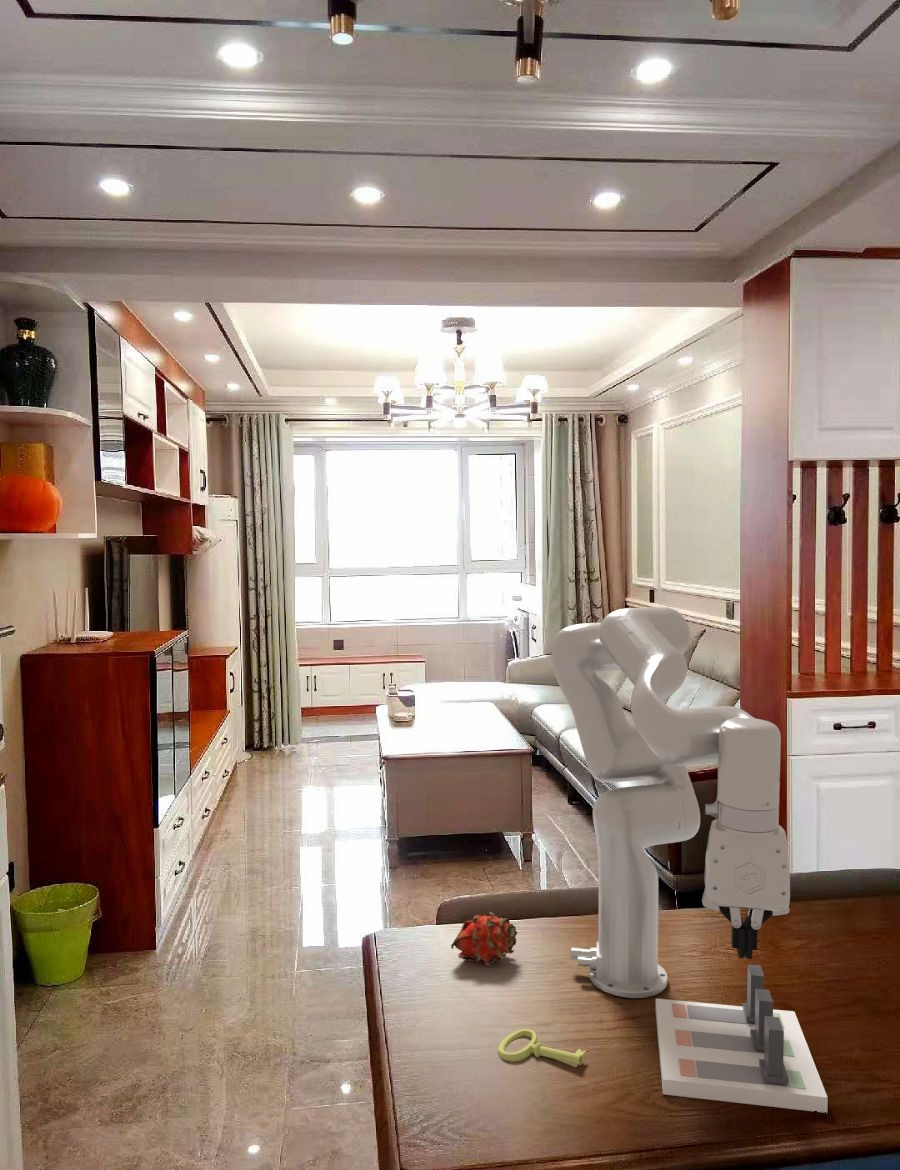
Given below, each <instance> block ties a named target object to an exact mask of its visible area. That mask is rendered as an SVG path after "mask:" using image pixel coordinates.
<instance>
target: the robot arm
mask: <svg viewBox="0 0 900 1170" xmlns="http://www.w3.org/2000/svg"><path fill="white" fill-rule="evenodd" d="M690 643H691V631H690V626H689V623H688V622H687V620H686V619H685V617H684V616H683V614H681V613H680V612H679V611H678V610H676V609H674V608H671V607H667V606H665V607H664V606H658V607H657V606H655V607H651V606H650V607H626V608H619V609H616V610H614V611H612V612H610V613H609V614H607V615H606V616H604V618H603V619H602V620H601V622H586V623H585V622H583V623H577V624H576V623H575V624H571V625H569V626H566V627H564V628H562V629H560V630H559V631H558V632H557V633H556V635H555V636H554V639H553V642H552V647H551V662H552V668H553V672H554V676H555V678H556V682H557V684H558V686H559V688H560V689H561V692H562V693H563V696H564V697H565V699H566V701H567V703H568V705H569V707H570V709H571V711H572V714H573V715H572V716H573V719H574V722H575V725H576V730H577V733H578V737H579V740H580V744H581V749H582V752H583V754H584V758H585V762H586V765H587V767H588V769H589V770H588V771H589V772H590V774H591V775H592V777H593V778H594V780H596V781H598V782H601V783H621V782H622V783H623V782H634V781H644V780H647V781H648V782H649V784H646V785H645V784H642V785H633V786H624V787H618V788H613V789H608V790H607V791H605V792H603V793H601V794H600V795H599V796H598V797H597V798H596V799H595V801H594V803H593V808H592V821H593V827H594V833H595V839H596V847H597V848H596V849H597V857H598V860H597V861H598V941H596V946H595V947H594V946H590V949H587V948H582V947H571V950H570V952H571V953H570V959H571V960H573V961H577V966H578V967H588V977H589V980H590V982H591V983H592V984H593V985H594V986H595V987H596V988H598V989H599V990H601V991H603V992H604V993H607V994H610V995H612V996H616V997H621V998H624V999H626V998H628V999H644V998H651V997H654V996H656V995H659V994H661V993H662V992H664V991H665V989H666V988H667V986H668V974H667V971H666V970H665V968H663V967H662V966H661V965H660V964H659V875H658V871H657V869H656V865H655V864H654V863H653V862H652V861H651V859H650V858H649V856H648V855H647V854H646V848H647V847H654V846H658V845H665V844H674V843H680V842H684V841H685V842H686V841H688V840H690V839H692V838H694V837H695V836H696V834H697V833H698V831H699V829H700V826H701V812H700V807H699V802H698V799H697V796H696V794H695V790H694V786H693V783H692V781H691V777H690V775H689V772H688V769H687V766H694V765H705V764H717V793H716V794H717V796H716V800H715V801H714V803H711V804H709V803H706V804H705V805H704V807H705V810H704V812H705V815H707V816H711V817H714V818H715V819H713V820H712V821H711V824H710V829H709V832H708V838H707V844H706V850H705V851H706V853H705V860H704V861H705V863H704V875H703V877H704V887H705V888H704V891H703V893H702V899H701V902H702V906H703V907H704V908H707V909H709V910H713V911H716V912H720V914H722V915H723V916H724V917H725V918H726V919H727V921H729V922H730V923H731V936H730V937H731V941H730V942H731V947H732V949H736V953H737V955H738V959H742V960H743V959H747V960H753V951H758V931H759V929H761V928H762V925H763V924H764V923H765V922H767V921H768V919H770V918H771V917H773V916H774V917H775V916H782V915H787V914H788V915H789V913H790V911H791V910H790V906H789V905H790V901H791V879H790V873H791V872H790V858H789V857H790V855H789V846H788V839H787V835H786V830H784V828H783V826H781V825H780V824H779V823H780V822H779V821H780V820H779V819H780V817H779V816H780V787H781V785H780V784H781V783H780V782H781V781H780V780H781V751H782V749H781V746H782V745H781V744H782V742H781V741H782V737H781V735H782V734H781V732H780V729H779V727H778V726H777V725H776V724H775V723H773V722H771V721H768V720H764V719H759V718H755V717H754V716H752V715H751V714H749V712H747V711H745V710H743V709H742V708H739V707H737V706H731V705H721V706H710V707H709V706H704V707H703V706H702V707H689V708H680V709H679V708H678V709H677V708H676V709H672V708H671V707H669V706H668V705H667V704H666V702H665V701H664V700H665V699H668V698H669V697H670V696H672V695H673V694H675V693H676V692H677V691H678V690H679V689H680V688H681V687H682V685H683V683H684V682H685V680H686V678H687V675H688V663H687V660H686V658H685V657H684V654H685V652H686V651H687V650H688V647H689V645H690ZM612 671H614V672H615V671H622V672H623V674H624V675H625V676H626V677H627V679H628V680H629V681H630V682H631V684H632V685H634V686H633V688H632V691H631V695H630V696H631V698H630V709H631V716H632V720H633V723H632V722H630V721H629V720H628V719H627V717H626V715H625V712H624V709H623V706H622V702H621V699H620V697H619V696H618V695H617V693H616V692H615V691H614V689H613V688H612V687H611V686H610V685H609V684H608V683H607V682H606V681H605V680H603V679H602V678H601V677H599V676H598V674H597V672H612ZM740 909H748V912H747V913H748V914H747V916H746V917H745V918H744V920H743V917H742V916H741V910H740Z"/></svg>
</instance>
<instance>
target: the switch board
mask: <svg viewBox="0 0 900 1170" xmlns="http://www.w3.org/2000/svg"><path fill="white" fill-rule="evenodd" d="M773 1017H779V1019H780V1021H781V1024H782V1027H783V1030H784V1054H783V1063H784V1066H785V1069H786V1072H787V1075H788V1084H781V1083H771V1082H764V1081H763V1078H762V1074H761V1071H760V1067H759V1059H764V1051H761V1050H754V1047H753V1044H752V1040H751V1037H750V1029H752V1030H755V1022H746V1019H745V1015H744V1011H743V1006H742V1005H741V1006H740V1005H730V1004H729V1005H728V1004H720V1003H718V1004H717V1003H709V1002H708V1003H707V1002H699V1001H698V1002H697V1001H685V1000H677V999H676V1000H675V999H674V1000H673V999H668V998H667V999H664V998H655V1022H656V1030H657V1031H656V1032H657V1041H658V1042H657V1043H658V1053H659V1067H660V1073H661V1075H660V1077H661V1086H662V1087H661V1088H662V1089H661V1090H662V1095H667V1096H675V1097H676V1096H677V1097H684V1098H692V1099H693V1098H694V1099H702V1100H709V1101H710V1100H711V1101H720V1102H727V1103H735V1104H736V1103H737V1104H744V1105H745V1104H747V1105H753V1106H764V1107H772V1108H773V1107H774V1108H781V1109H789V1110H798V1111H806V1112H814V1111H817V1113H824V1114H828V1101H829V1099H828V1098H829V1097H828V1094H827V1092H826V1090H825V1087H824V1085H823V1081H822V1080H821V1077H820V1074H819V1071H818V1070H817V1067H816V1064H815V1062H814V1059H813V1056H812V1054H811V1051H810V1049H809V1048H810V1047H809V1045H808V1043H807V1041H806V1038H805V1036H804V1033H803V1030H802V1028H801V1025H800V1022H799V1020H798V1017H797V1015H796V1012H795V1010H794V1011H793V1010H784V1009H782V1010H781V1009H773ZM825 1112H826V1113H825Z"/></svg>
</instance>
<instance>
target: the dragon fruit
mask: <svg viewBox="0 0 900 1170" xmlns="http://www.w3.org/2000/svg"><path fill="white" fill-rule="evenodd" d="M487 913H488V915H489V916H487V915H486V914H485V913H484V914H482V915H481V914H477V915H474V916H473V917H472V919H469V920H466V921H464V922H463V925H462V927H461V929H460V931H459V932H458V934H457V935H456V938H455V939H454V940H453V942H452V943H451V945H450V948H451V950H453V949H454V948H455V949H458V950H459V951H461V952H459V953H458V958H459V959H461V960H463V961H465V962H479V961H481V960H483V961H484V963H485V966H486V967H490V965H491V964H493V963H495V962H498V961H500V960H502V958H506V956H507V954H510V955H511V954H513V953H514V952H515V950H514V949H513V948H514V946H515V945H516V944H517V938H516V937H517V934H518V933H519V932H518V931H517V927H516V926H515V925H514V924H512V923H511V922H510V920H509V918H503V917H502V916H501V917H498V915H497V914H495V913H493V912H492V911H491V912H487Z"/></svg>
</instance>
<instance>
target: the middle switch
mask: <svg viewBox="0 0 900 1170" xmlns="http://www.w3.org/2000/svg"><path fill="white" fill-rule="evenodd" d="M773 1010H774V1000H773V998H772V994H771V992H770V989H765V988H764V989H755V1030H752V1029H750V1037H751V1040H752V1044H753V1047H754V1050H761V1051H764V1025H765V1016H771V1017H773Z"/></svg>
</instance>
